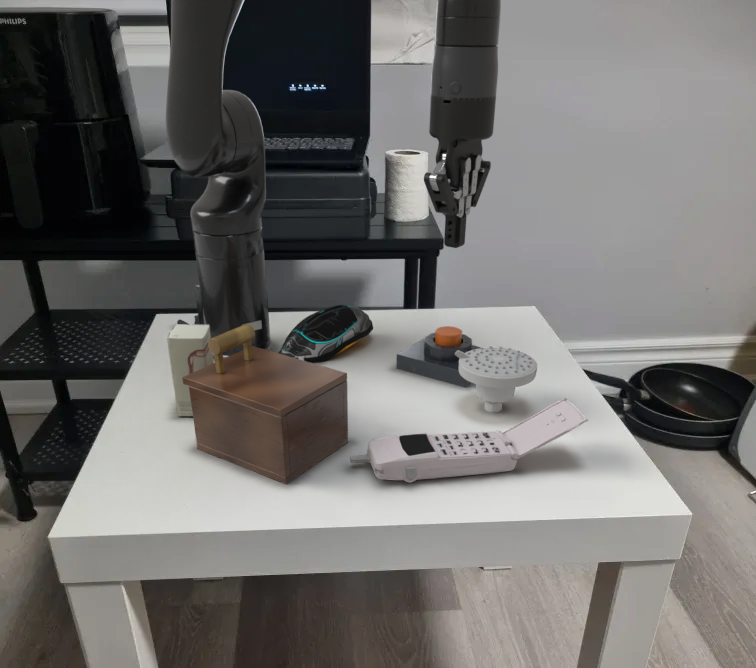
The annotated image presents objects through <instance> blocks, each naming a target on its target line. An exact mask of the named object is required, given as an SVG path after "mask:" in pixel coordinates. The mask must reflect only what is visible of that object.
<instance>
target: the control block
mask: <svg viewBox="0 0 756 668" xmlns="http://www.w3.org/2000/svg"><path fill="white" fill-rule="evenodd" d="M435 333H436V332H431V333H430V334H428V335H426V336H425V337H423V338H422V339H421V340H419V341H416V342H415V343H413V344H411V345H410V346H409V347H406V348H404V349H403V350H401V351H399V352H398V353H397V354H396V365H395V366H396V367H395V368H396V369H397V370H400V371H403V372H408V373H411V374H414V375H418V376H422V377H426V378H428V379H432V380H437V381H440V382H443V383H446V384H450V385H454V386H457V387H461V388H465V389H466V388H468V387H469V386H470V385H472V384H473V383H472V382H469V381H467V380H466V379H464V378H463V377H462V376H461V375H460V373H459V359H460V358H458V357H457V356H456V355H455V352H457V351H458V350H459V351H461V352H463V353H466V352H468V351H471V350H473V349H479V348H481V347H482V346H478V345H473V339H472V338H471V337H470V336H468V335H466V334H464V333H462V340H461V344H460V345H456V346H442V345H438V344H436V343H435Z"/></svg>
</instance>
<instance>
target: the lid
mask: <svg viewBox="0 0 756 668" xmlns="http://www.w3.org/2000/svg"><path fill="white" fill-rule="evenodd" d="M254 337H255V331H254V329H253V327H252V326H251V325H249V324H245V325H242V326H240V327H238V328H235V329H233V330H230V331H228V332H226V333H223V334H221V335H218V336H216V337H214V338H211V339H210V340H209V342H208V346H209V349H210V351H211V352H212V353H213V354H214V358H213V359H214V362H213V364H211V365H209V366H207V367H204V368H202V369H200V370H198V371H195V372H193V373H191V374H189V375H187V376H184V377H182V379H183V384H185V385H188V386H191V387H194V388H197V389H200V390H203V391H206V392H208V393H211V394H214V395H217V396H220V397H223V398H226V399H229V400H232V401H235V402H238V403H241V404H244V405H247V406H250V407H253V408H256V409H259V410H262V411H265V412H268V413H271V414H274V415H277V416H280V417H282V416H284V415H286V414H288V413H289V412H291V411H293V410H295V409H296V408H298V407H300V406H302V405H303V404H305V403H307V402H309V401H310V400H312V399H314V398H316V397H317V396H319V395H321V394H323V393H324V392H326V391H328V390H330V389H331V388H333V387H335V386H337V385H338V384H340V383H342V382H344V381H345V380H347V381H348V372H345V371H341V370H338V369H335V368H332V367H331V368H330V367H328V366H323V365H320V364H317V363H315V362H307V361H303V360H300V359H296V358H293V357H289V356H286V355H282V354H279V353H278V352H275V351H272V350H271V351H268V350H265V349H261V348H258V347H254V346H252V344H251V340H252V339H254ZM241 344H243V348H244V350H242V351H240V352H238V353H235V354H233V355H231V356H229V357H226V358H224V359H223V352H225V351H228V350H230V349H232V348H234V347H237V346H239V345H241Z"/></svg>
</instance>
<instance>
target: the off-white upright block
mask: <svg viewBox="0 0 756 668" xmlns="http://www.w3.org/2000/svg"><path fill="white" fill-rule="evenodd" d="M210 339H211V336H210V326H209V325H194V323H192V324H189V323H188V324H177V323H176V324H175V323H174V325H173V326H172V328H171V329H170V331H169V332H168V334H167V337H166V343H167V348H168V356H169V364H170V370H171V378H172V384H173V391H174V399H175V405H176V413H177V416H178V417H193V413H192V406H191V399H190V392H189V386H188V385H185V384H183V379H182V377H184V376H187V375H189V374H191V373H193V372H195V371H198V370H200V369H202V368H204V367H207V366H209V365H211V364H213V363H214V358H213V354H212V352H211V351H210V349H209V346H208V342H209V340H210Z"/></svg>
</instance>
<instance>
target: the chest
mask: <svg viewBox="0 0 756 668" xmlns="http://www.w3.org/2000/svg"><path fill="white" fill-rule="evenodd" d="M189 392H190V399H191V406H192V413H193V416H192V419H193V425H194V433H195V440H196V447H197V450H199V451H201V452H203V453H207V454H209V455H212V456H214V457H216V458H219V459H222V460H223V461H227V462H229V463H232V464H234V465H237V466H239V467H242V468H245V469H247V470H250V471H252V472H255V473H257V474H260V475H262V476H265V477H267V478H270V479H272V480H274V481H277V482H280V483H282V484H285V485H287V484H289V483H290V482H291V481H293V480H295V479H296V478H298V477H299V476H301V475H302V474H303V473H305V472H307V471H308V470H310V469H311V468H312V467H314V466H315V465H318V463H320V462H321V461H323V460H324V459H326V458H327V457H329V456H330V455H332V454H333V453H335V452H336V451H338V450H339V449H340V448H342V447H344V446H345V445H347V444H348V443H349V412H348V407H349V406H348V405H349V403H348V379H347V380H345V381H344V382H342V383H340V384H338V385H337V386H335V387H333V388H331V389H330V390H328V391H326V392H324V393H323V394H321V395H319V396H317V397H316V398H314V399H312V400H310V401H309V402H307V403H305V404H303V405H302V406H300V407H298V408H296V409H295V410H293V411H291V412H289V413H288V414H286V415H284V416H282V417H280V416H277V415H274V414H271V413H268V412H265V411H262V410H259V409H256V408H253V407H250V406H247V405H244V404H241V403H238V402H235V401H232V400H229V399H226V398H223V397H220V396H217V395H214V394H211V393H208V392H206V391H203V390H200V389H197V388H194V387H191V386H189Z"/></svg>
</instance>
